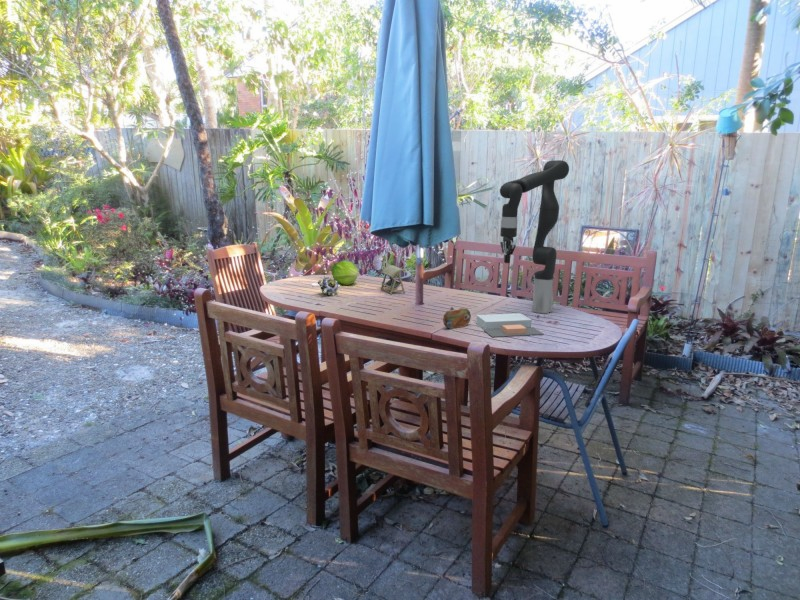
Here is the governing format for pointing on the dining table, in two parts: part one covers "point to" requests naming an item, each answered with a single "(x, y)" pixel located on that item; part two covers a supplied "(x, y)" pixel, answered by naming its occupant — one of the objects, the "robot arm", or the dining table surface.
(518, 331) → the peach rectangular block
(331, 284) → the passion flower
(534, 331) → the mat
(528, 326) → the plate
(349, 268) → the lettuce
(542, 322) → the dining table surface
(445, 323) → the tin
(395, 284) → the swing bench
